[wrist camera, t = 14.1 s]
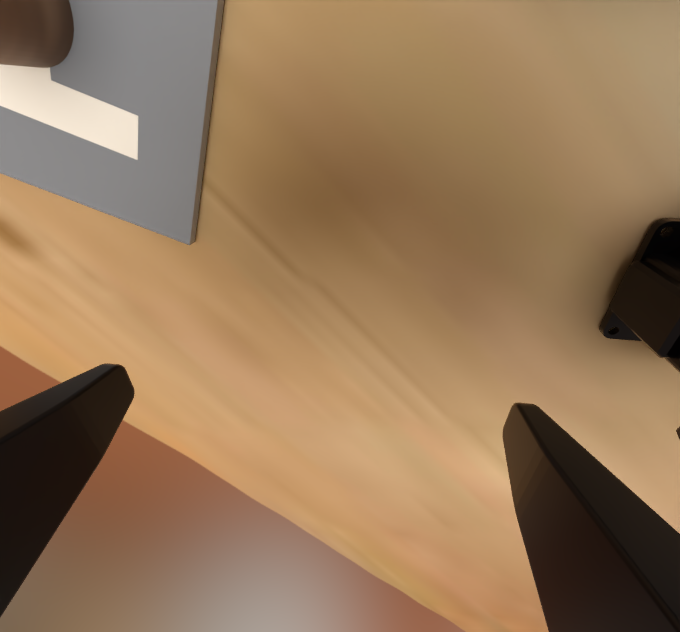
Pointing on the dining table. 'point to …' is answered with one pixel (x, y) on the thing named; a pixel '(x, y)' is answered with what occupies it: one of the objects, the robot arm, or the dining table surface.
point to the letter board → (120, 112)
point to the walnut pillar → (35, 32)
